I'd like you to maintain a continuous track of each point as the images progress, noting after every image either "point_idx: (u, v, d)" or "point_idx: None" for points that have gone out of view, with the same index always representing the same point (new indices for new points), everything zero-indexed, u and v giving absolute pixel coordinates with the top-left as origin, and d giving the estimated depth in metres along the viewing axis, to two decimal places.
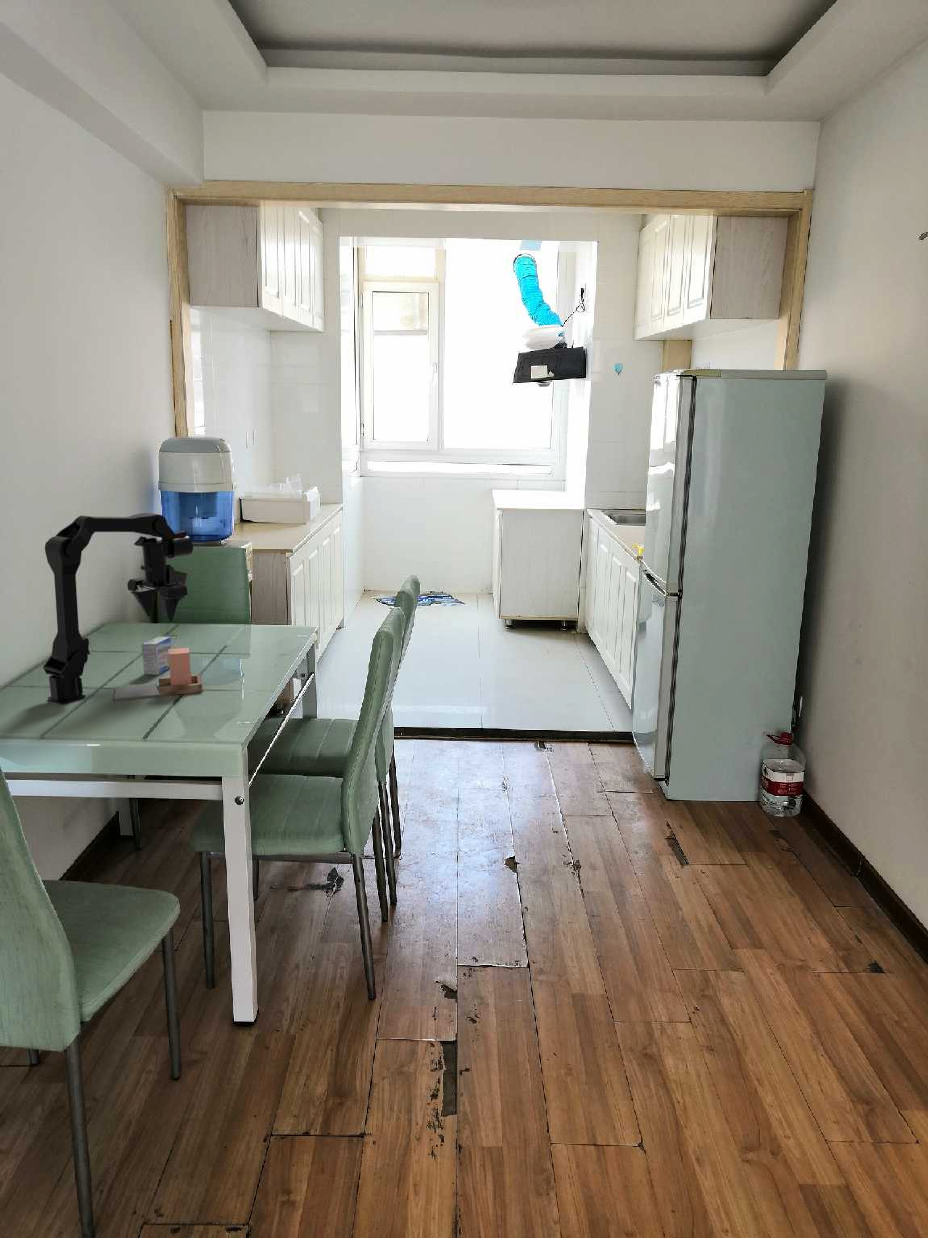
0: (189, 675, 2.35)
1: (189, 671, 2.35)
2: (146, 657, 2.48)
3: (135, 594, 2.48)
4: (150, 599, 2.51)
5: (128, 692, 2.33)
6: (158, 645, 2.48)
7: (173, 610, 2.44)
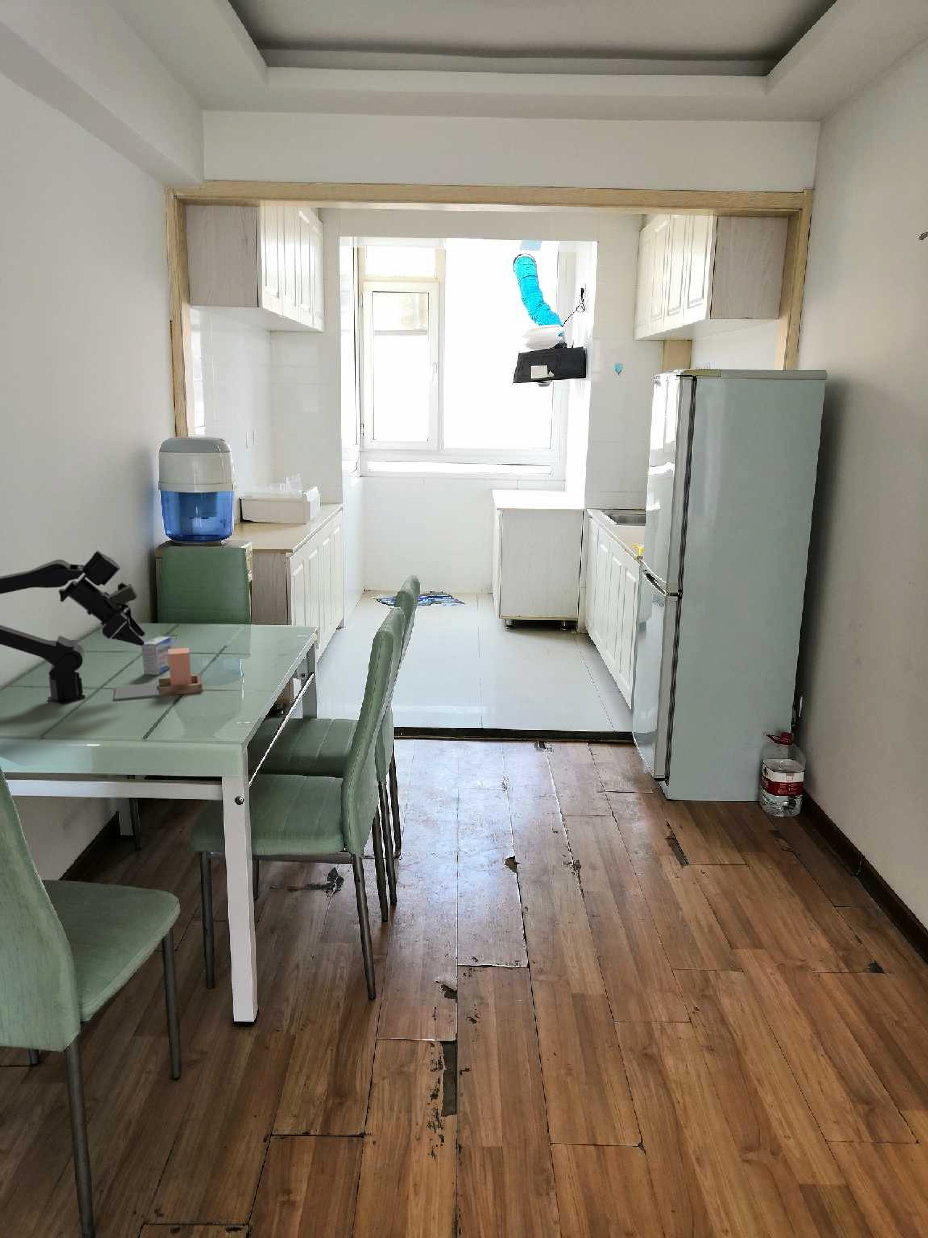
0: (189, 675, 2.35)
1: (189, 671, 2.35)
2: (146, 657, 2.48)
3: None
4: (132, 621, 2.35)
5: (128, 692, 2.33)
6: (158, 645, 2.48)
7: (134, 636, 2.26)
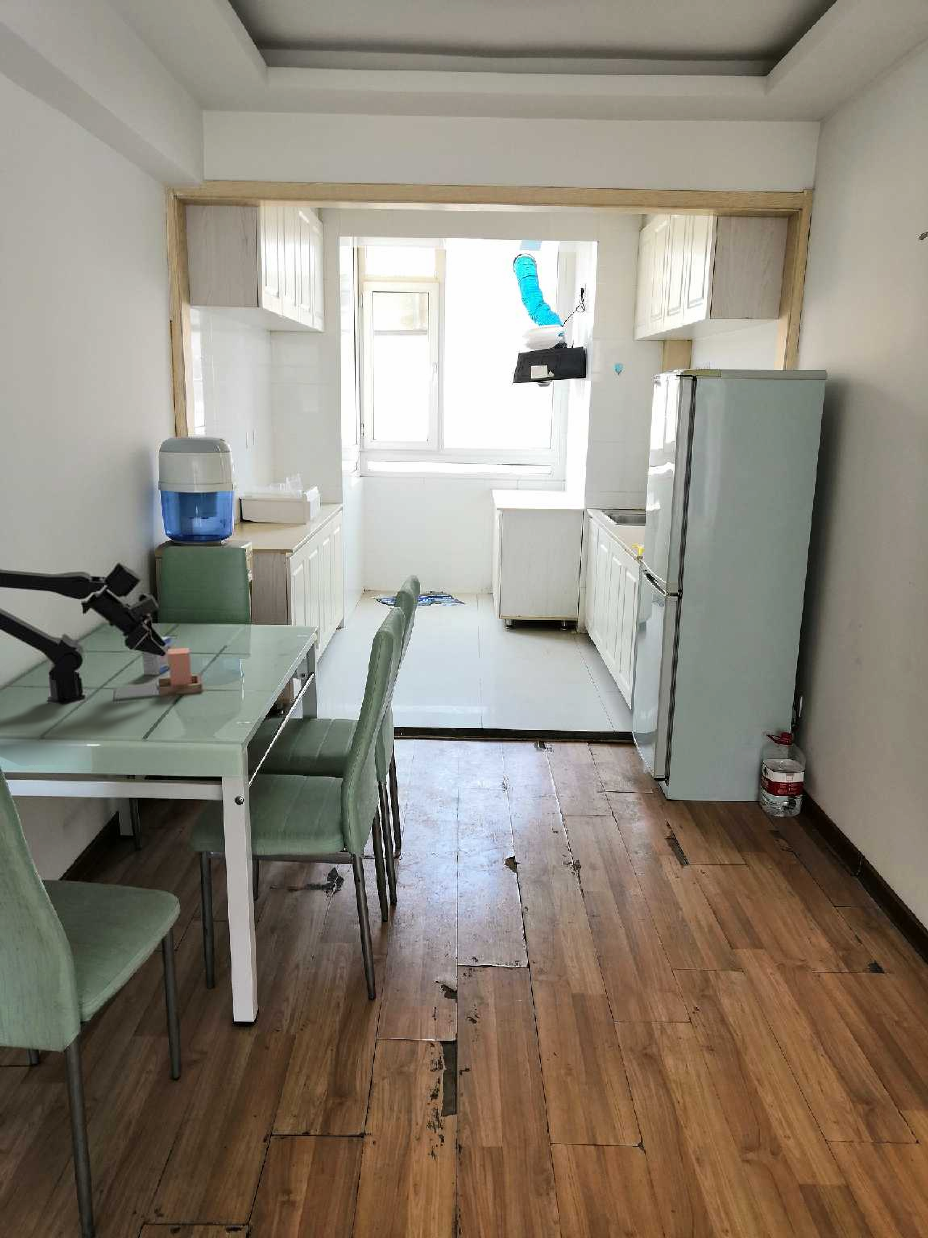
0: (189, 675, 2.35)
1: (189, 671, 2.35)
2: (146, 657, 2.48)
3: None
4: (152, 631, 2.37)
5: (128, 692, 2.33)
6: None
7: (155, 647, 2.28)
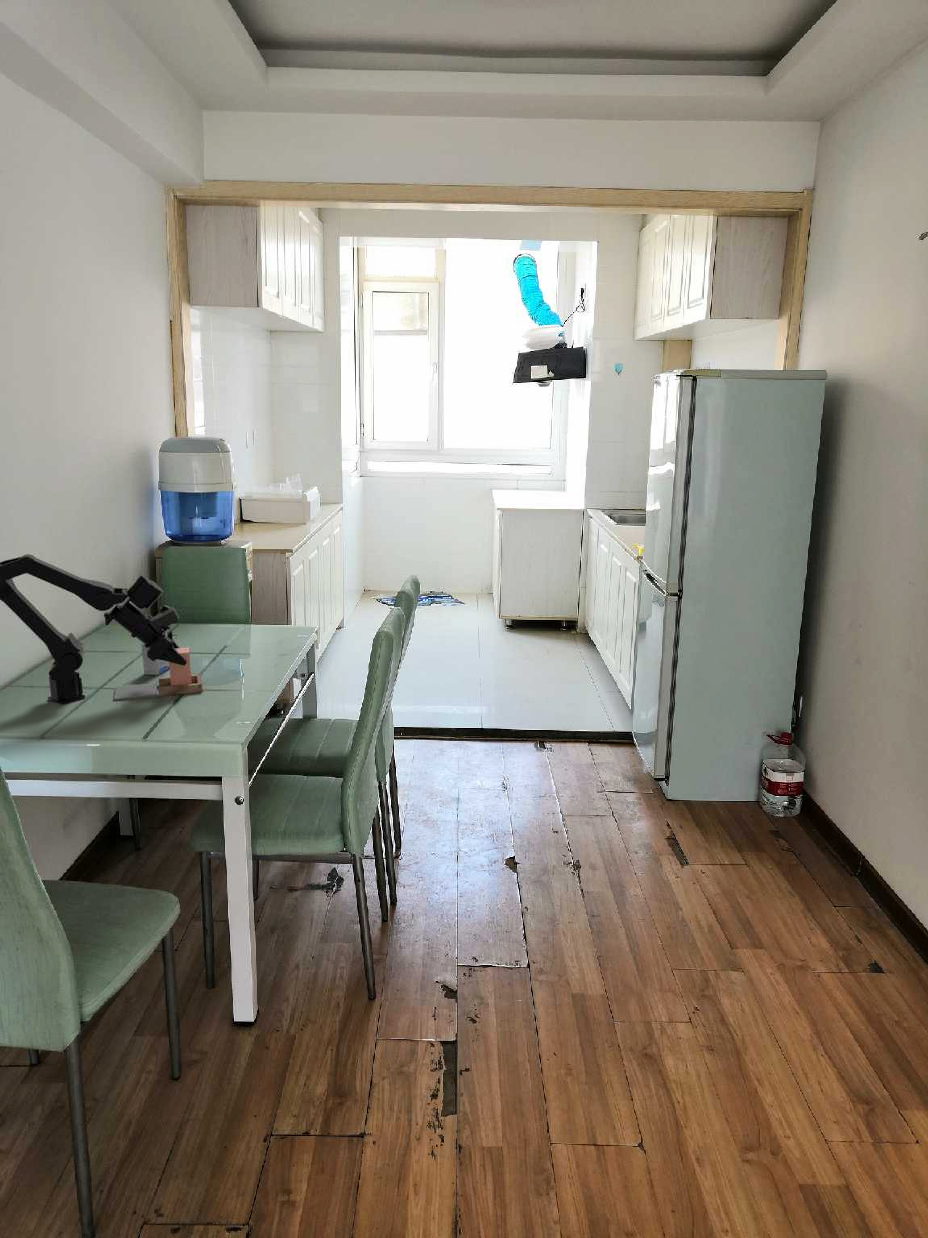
0: (189, 675, 2.35)
1: (189, 671, 2.35)
2: (146, 657, 2.48)
3: None
4: (173, 644, 2.37)
5: (128, 692, 2.33)
6: None
7: (177, 656, 2.32)
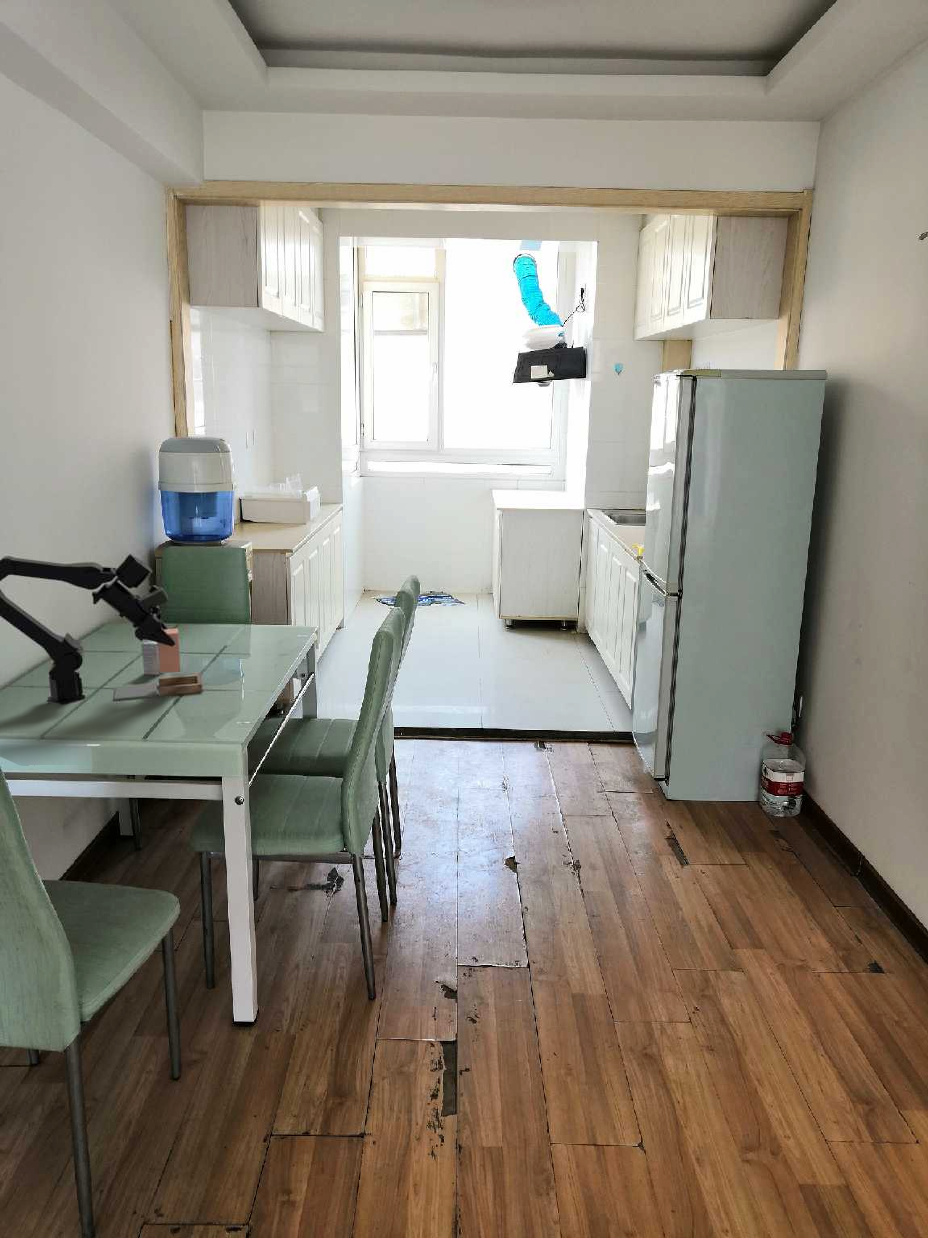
0: (177, 656, 2.33)
1: (178, 652, 2.33)
2: (146, 657, 2.48)
3: None
4: (162, 625, 2.35)
5: (128, 692, 2.33)
6: None
7: (165, 637, 2.30)
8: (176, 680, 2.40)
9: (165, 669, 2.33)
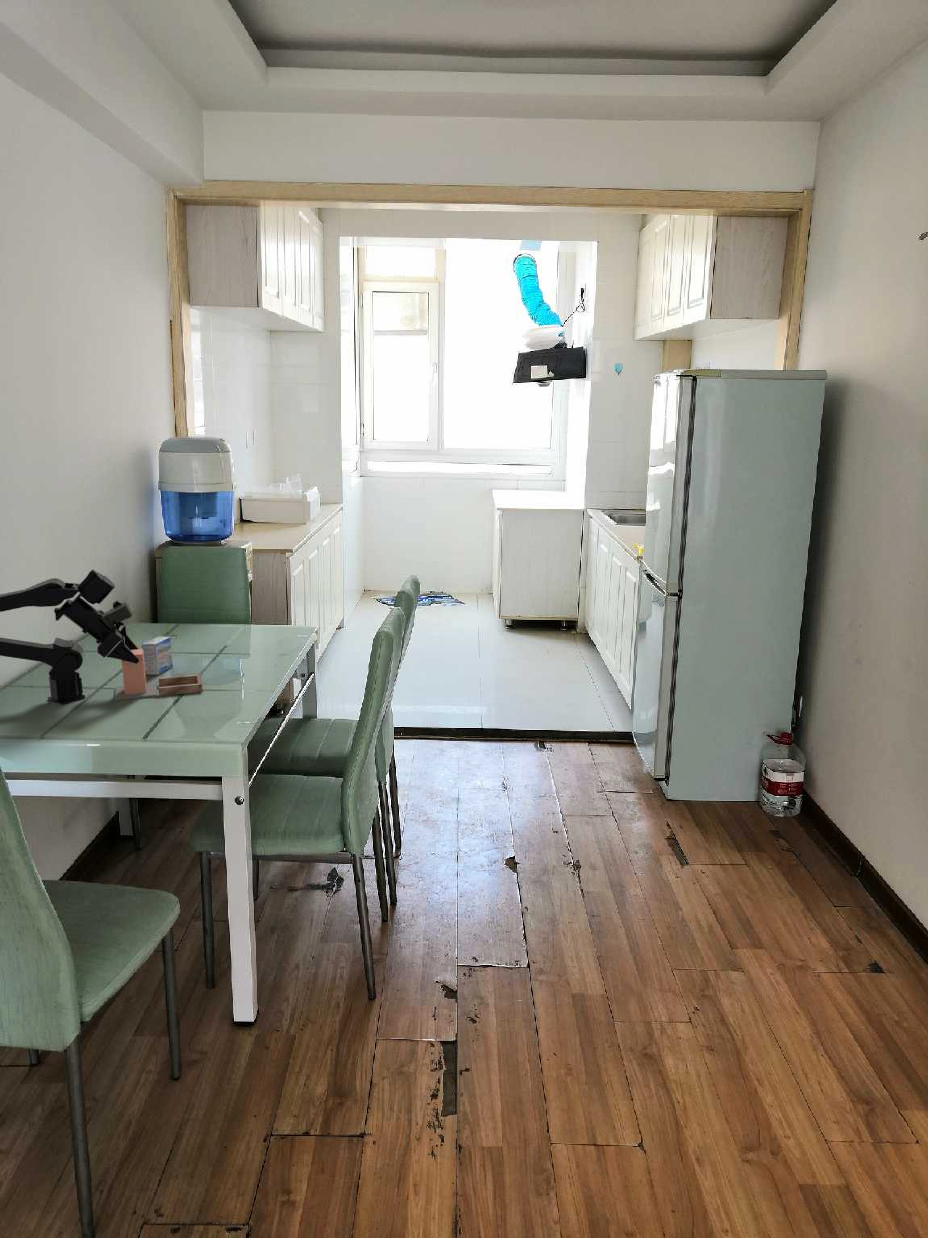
0: (143, 677, 2.32)
1: (143, 673, 2.31)
2: (146, 657, 2.48)
3: None
4: (127, 639, 2.35)
5: None
6: (158, 645, 2.48)
7: (129, 654, 2.27)
8: (176, 680, 2.40)
9: (130, 690, 2.31)
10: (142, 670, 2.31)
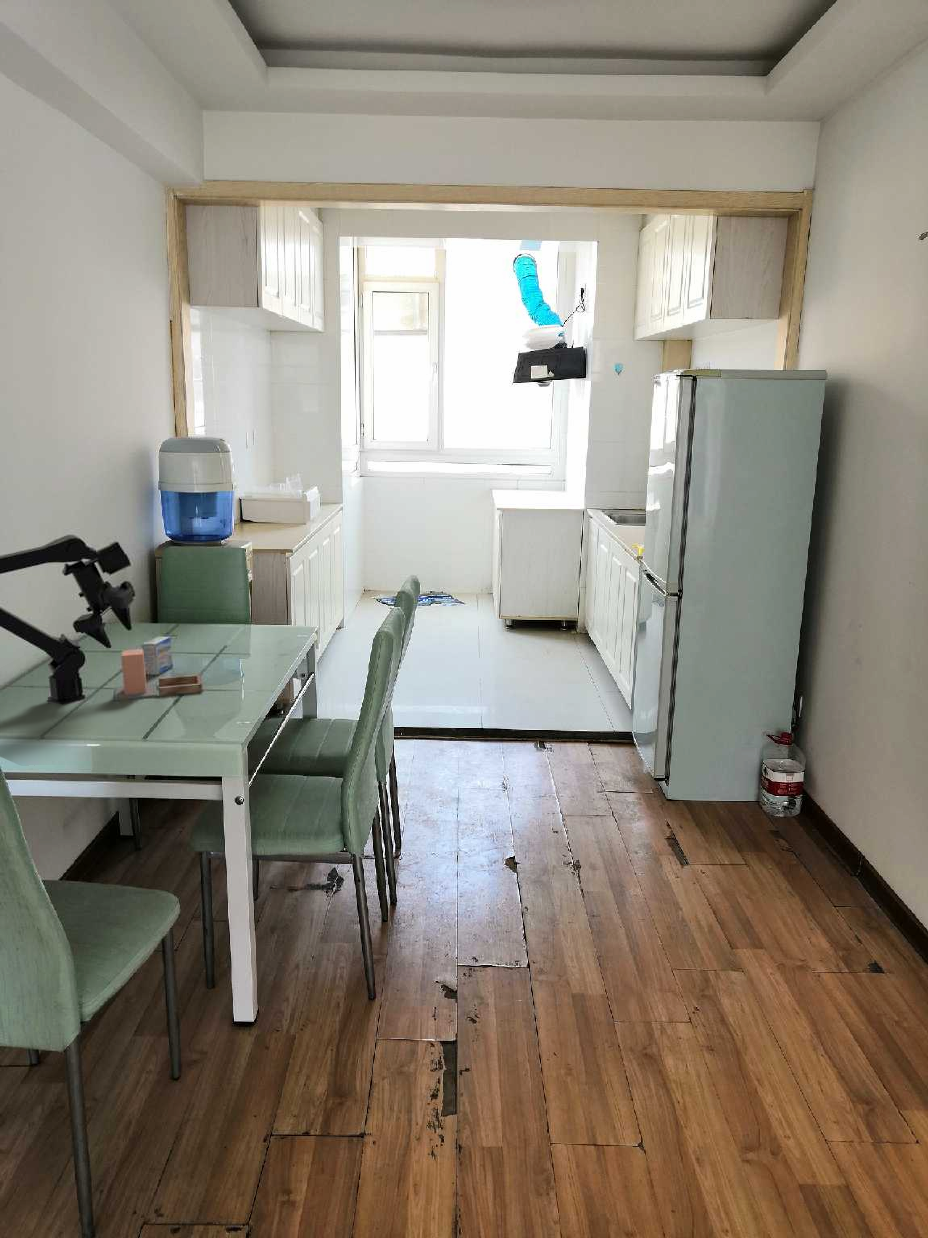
0: (143, 677, 2.32)
1: (143, 673, 2.31)
2: (146, 657, 2.48)
3: None
4: (125, 613, 2.35)
5: None
6: (158, 645, 2.48)
7: (102, 639, 2.27)
8: (176, 680, 2.40)
9: (130, 690, 2.31)
10: (142, 670, 2.31)
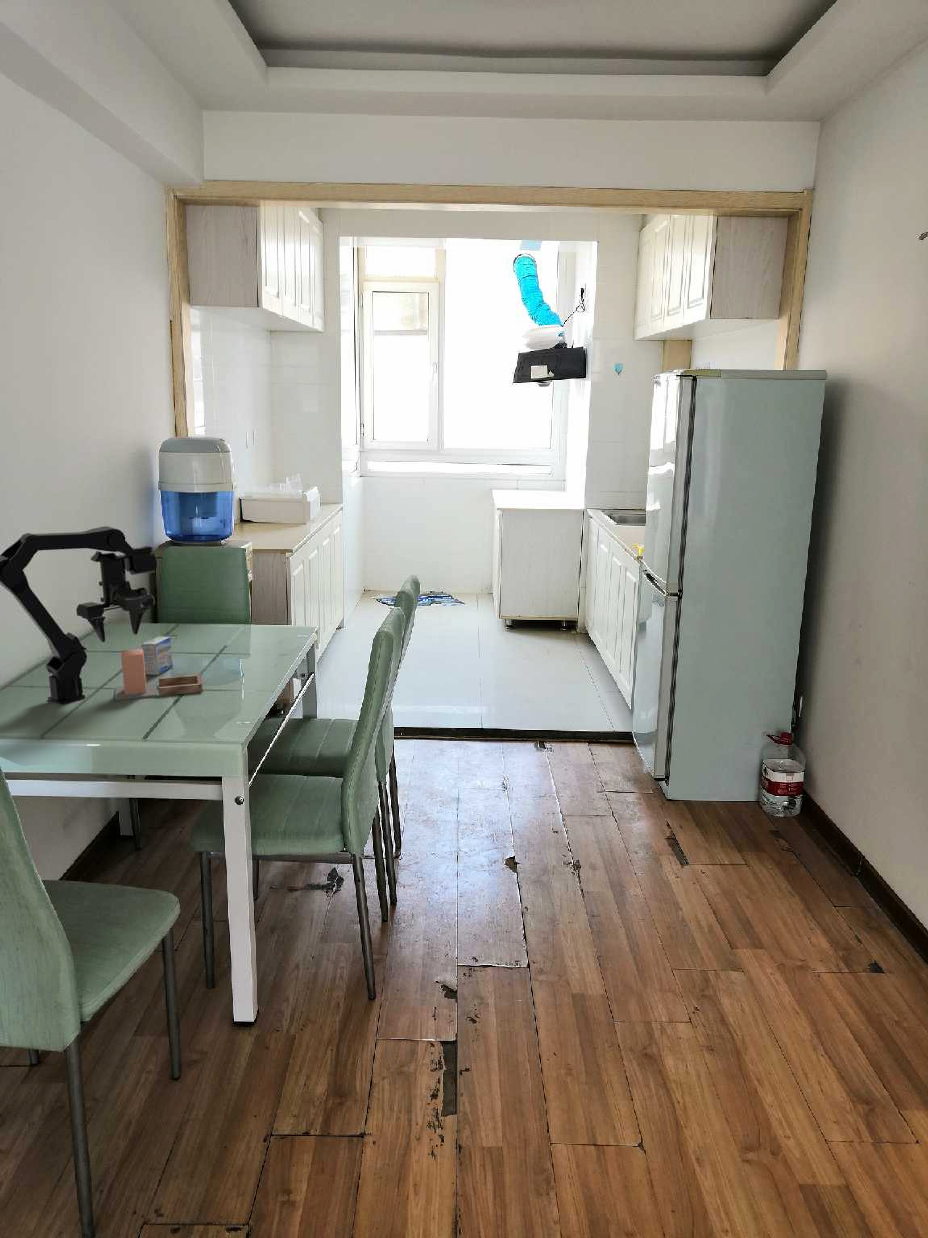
0: (143, 677, 2.32)
1: (143, 673, 2.31)
2: (146, 657, 2.48)
3: None
4: (136, 617, 2.38)
5: None
6: (158, 645, 2.48)
7: (99, 631, 2.30)
8: (176, 680, 2.40)
9: (130, 690, 2.31)
10: (142, 670, 2.31)
